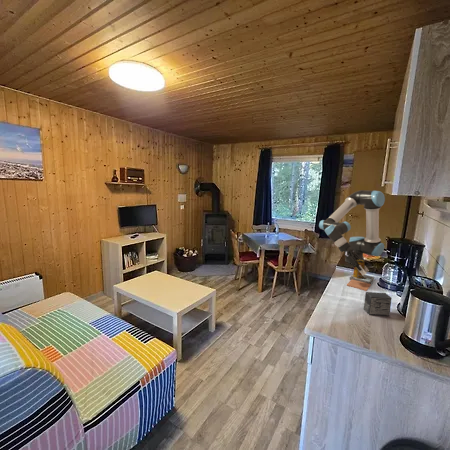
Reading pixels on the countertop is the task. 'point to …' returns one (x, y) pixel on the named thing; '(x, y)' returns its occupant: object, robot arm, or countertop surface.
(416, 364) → the countertop surface
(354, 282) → the tile
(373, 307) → the small box
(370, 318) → the countertop surface
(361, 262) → the condiment
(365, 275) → the holder
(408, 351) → the countertop surface
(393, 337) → the countertop surface
